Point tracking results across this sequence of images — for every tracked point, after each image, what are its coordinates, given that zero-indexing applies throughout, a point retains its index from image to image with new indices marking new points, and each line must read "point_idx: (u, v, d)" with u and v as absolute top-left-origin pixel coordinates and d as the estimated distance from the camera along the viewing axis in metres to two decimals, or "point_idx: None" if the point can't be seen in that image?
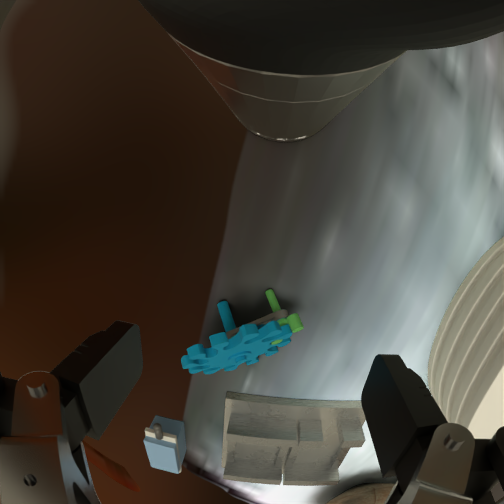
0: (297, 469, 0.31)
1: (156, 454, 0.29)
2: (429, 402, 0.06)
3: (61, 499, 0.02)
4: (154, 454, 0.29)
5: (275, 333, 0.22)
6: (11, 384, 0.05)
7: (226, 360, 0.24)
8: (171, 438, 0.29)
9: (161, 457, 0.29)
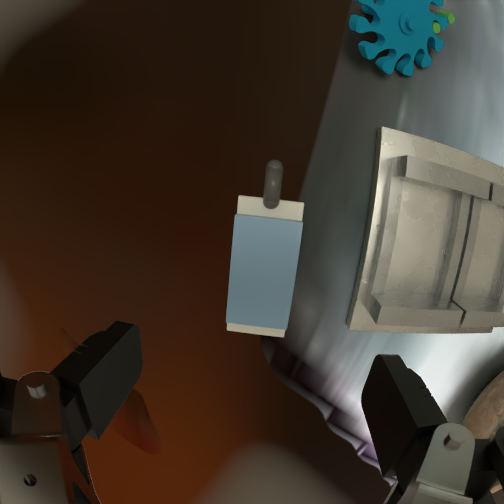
0: (468, 302, 0.19)
1: (253, 263, 0.18)
2: (429, 402, 0.06)
3: (61, 499, 0.02)
4: (247, 265, 0.18)
5: (439, 1, 0.12)
6: (11, 384, 0.05)
7: (396, 23, 0.13)
8: (295, 204, 0.18)
9: (262, 271, 0.18)
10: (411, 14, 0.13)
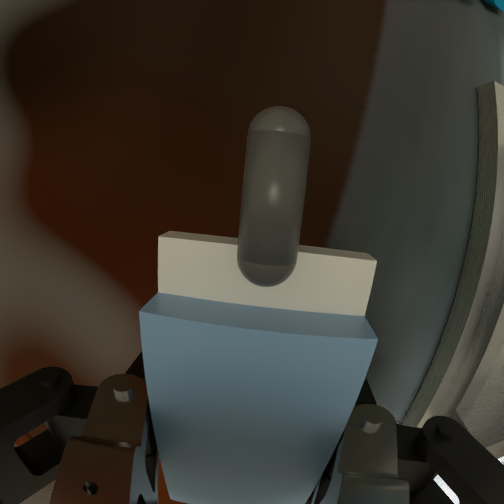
0: None
1: (213, 434, 0.05)
2: None
3: None
4: (197, 436, 0.05)
5: None
6: (83, 390, 0.06)
7: None
8: (349, 267, 0.05)
9: (241, 450, 0.05)
10: None
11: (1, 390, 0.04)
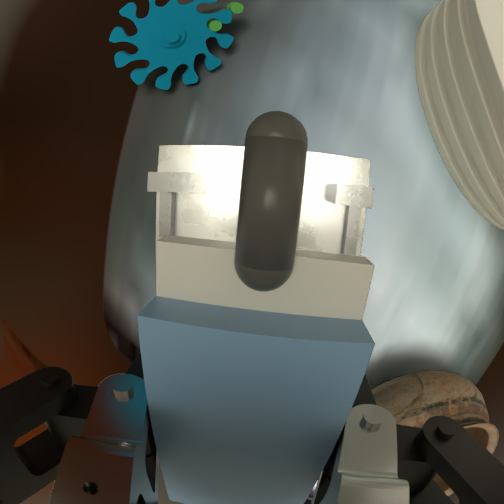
0: None
1: (211, 436, 0.05)
2: (361, 385, 0.07)
3: None
4: (195, 438, 0.05)
5: None
6: (83, 390, 0.06)
7: (157, 42, 0.17)
8: (347, 271, 0.05)
9: (240, 452, 0.05)
10: (171, 27, 0.16)
11: (1, 390, 0.04)
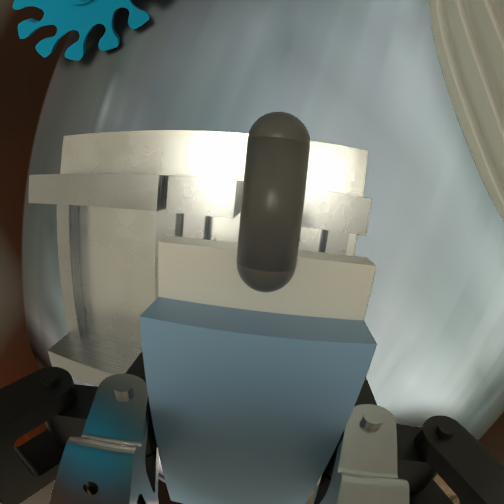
0: None
1: (213, 437, 0.05)
2: None
3: None
4: (197, 439, 0.05)
5: None
6: (83, 390, 0.06)
7: (65, 1, 0.09)
8: (349, 272, 0.05)
9: (241, 453, 0.05)
10: None
11: (1, 390, 0.04)
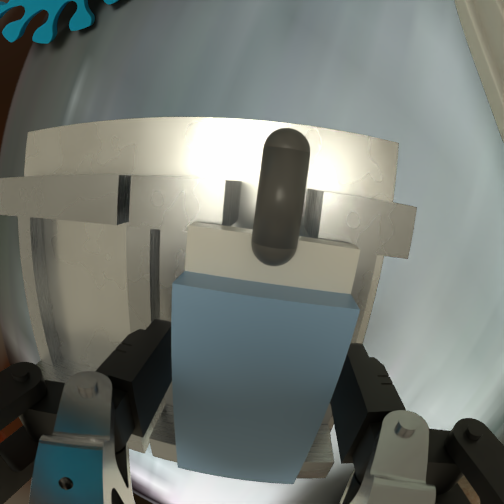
0: None
1: (224, 393, 0.07)
2: (389, 390, 0.07)
3: None
4: (210, 396, 0.07)
5: None
6: (54, 386, 0.05)
7: None
8: (338, 253, 0.06)
9: (247, 410, 0.07)
10: None
11: None
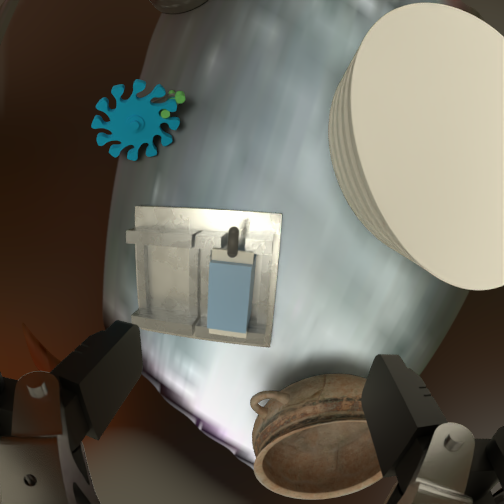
0: None
1: (221, 291, 0.28)
2: (429, 402, 0.06)
3: (61, 499, 0.02)
4: (218, 292, 0.28)
5: (159, 93, 0.25)
6: (11, 384, 0.05)
7: (125, 128, 0.27)
8: (248, 254, 0.28)
9: (228, 296, 0.28)
10: (133, 118, 0.27)
11: None
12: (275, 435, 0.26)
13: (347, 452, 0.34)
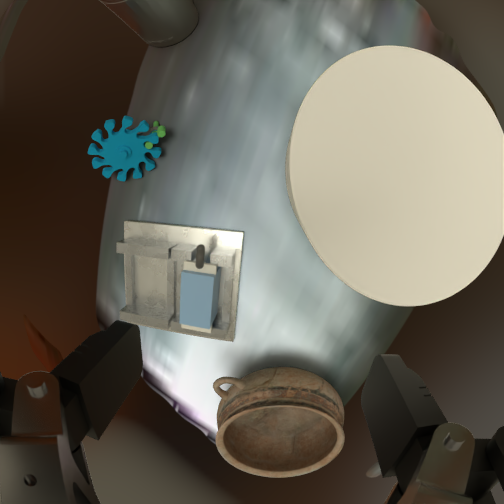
0: None
1: (191, 295, 0.35)
2: (429, 402, 0.06)
3: (61, 499, 0.02)
4: (188, 296, 0.35)
5: (144, 128, 0.32)
6: (12, 384, 0.05)
7: (115, 155, 0.33)
8: (212, 266, 0.34)
9: (195, 299, 0.35)
10: (122, 148, 0.33)
11: None
12: (232, 414, 0.33)
13: (303, 438, 0.41)
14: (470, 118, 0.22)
